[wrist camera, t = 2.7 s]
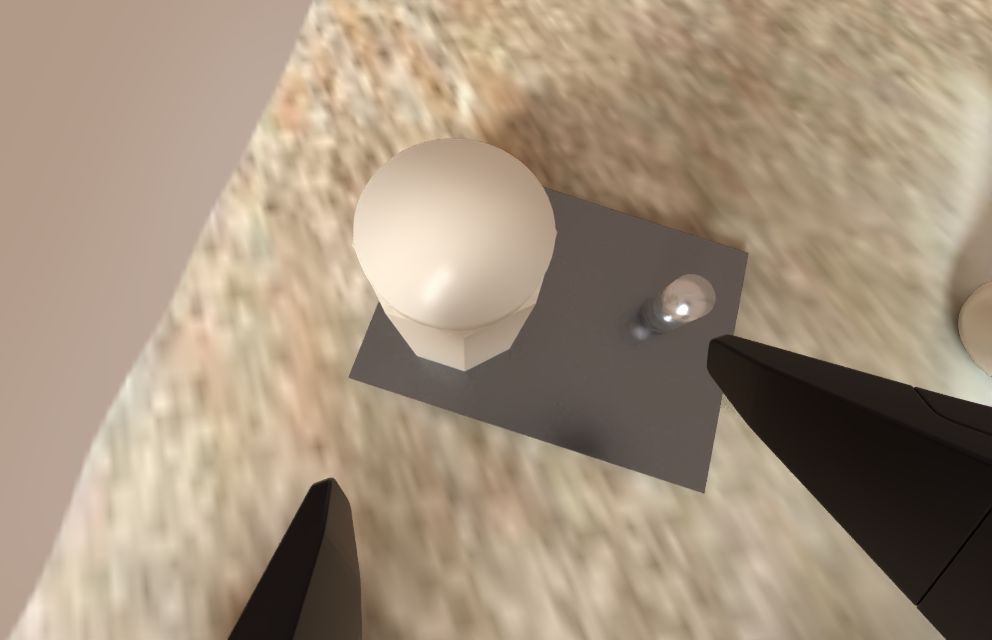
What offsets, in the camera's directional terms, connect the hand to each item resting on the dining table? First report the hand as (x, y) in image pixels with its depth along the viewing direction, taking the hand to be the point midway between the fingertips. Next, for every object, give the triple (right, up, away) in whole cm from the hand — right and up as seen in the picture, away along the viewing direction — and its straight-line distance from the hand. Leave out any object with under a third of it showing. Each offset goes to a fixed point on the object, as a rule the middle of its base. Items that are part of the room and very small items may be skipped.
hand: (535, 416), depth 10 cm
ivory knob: (-3, +3, +12) cm, 13 cm away
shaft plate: (+2, +2, +14) cm, 14 cm away
